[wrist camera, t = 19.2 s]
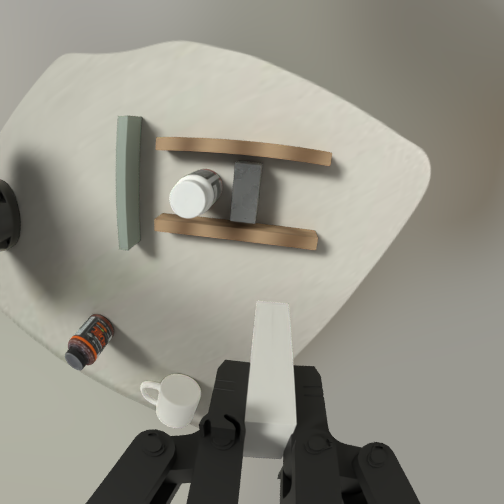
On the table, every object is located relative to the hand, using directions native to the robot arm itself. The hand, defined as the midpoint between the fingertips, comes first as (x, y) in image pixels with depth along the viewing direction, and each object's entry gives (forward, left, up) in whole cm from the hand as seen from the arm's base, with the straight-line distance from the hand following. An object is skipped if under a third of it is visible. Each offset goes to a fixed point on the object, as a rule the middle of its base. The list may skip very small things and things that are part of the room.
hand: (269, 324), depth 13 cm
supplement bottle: (-30, -26, -25) cm, 47 cm away
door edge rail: (-20, +2, -25) cm, 32 cm away
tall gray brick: (-4, +2, -25) cm, 25 cm away
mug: (-16, -39, -25) cm, 49 cm away
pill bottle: (-9, +2, -25) cm, 27 cm away
